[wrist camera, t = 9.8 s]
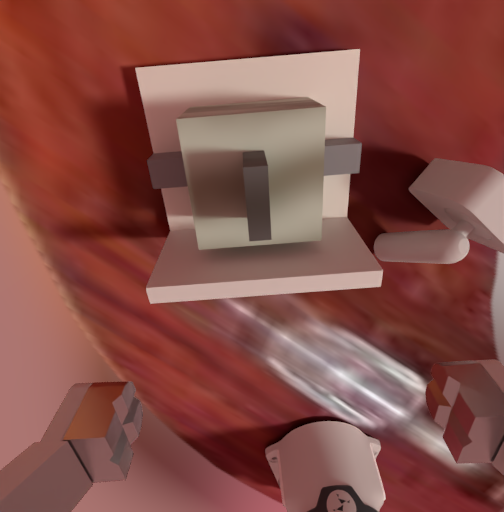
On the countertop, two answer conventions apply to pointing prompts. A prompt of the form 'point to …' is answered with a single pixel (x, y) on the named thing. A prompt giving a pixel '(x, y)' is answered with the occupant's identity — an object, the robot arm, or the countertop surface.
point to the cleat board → (260, 256)
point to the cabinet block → (255, 171)
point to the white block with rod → (451, 214)
